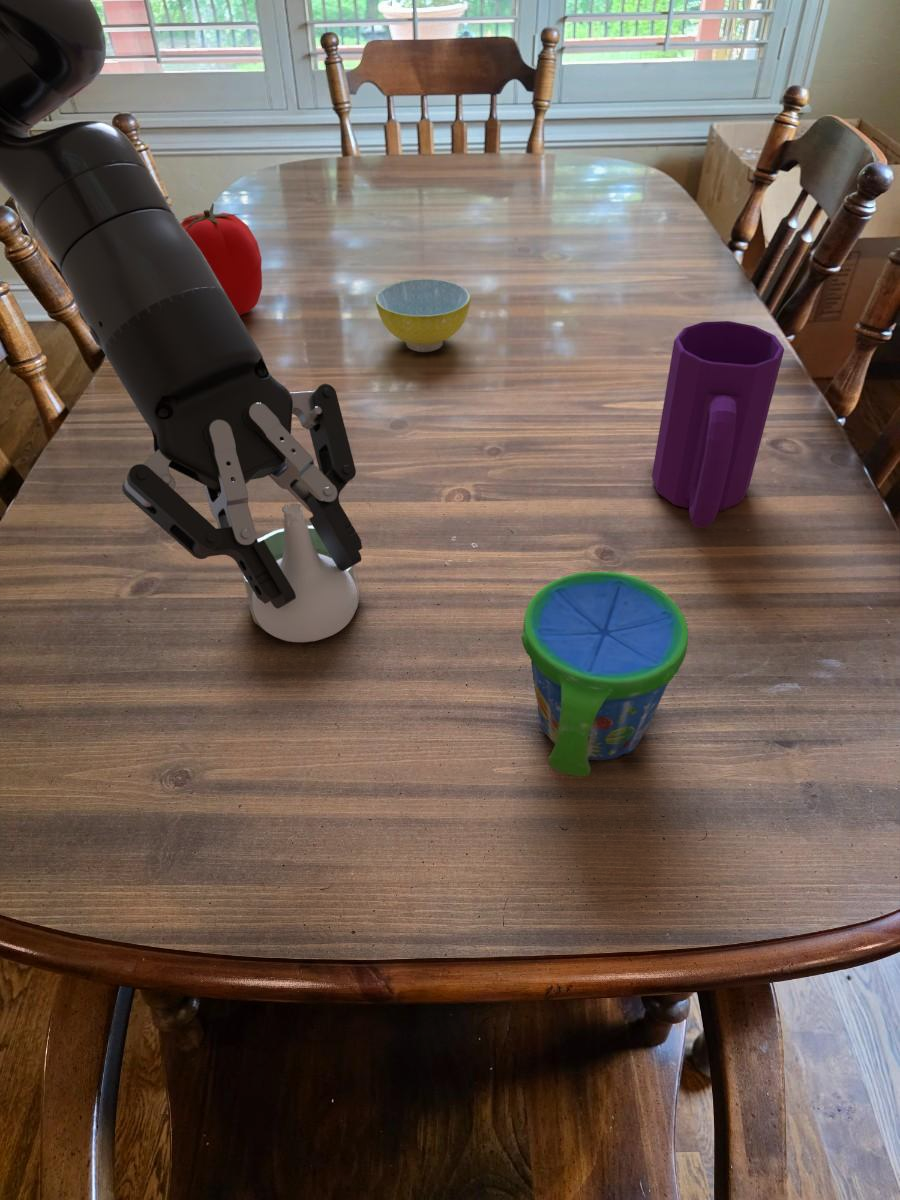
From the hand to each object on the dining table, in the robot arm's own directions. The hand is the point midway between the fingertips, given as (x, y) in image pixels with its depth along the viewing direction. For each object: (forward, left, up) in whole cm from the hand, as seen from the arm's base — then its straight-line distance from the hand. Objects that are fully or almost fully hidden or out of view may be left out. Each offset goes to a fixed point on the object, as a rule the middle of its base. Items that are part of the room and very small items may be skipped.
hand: (319, 582), depth 50 cm
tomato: (+35, +70, -16) cm, 80 cm away
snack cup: (+14, -10, -16) cm, 24 cm away
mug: (+42, 0, -16) cm, 45 cm away
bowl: (+47, +44, -16) cm, 67 cm away
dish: (+7, +15, -16) cm, 23 cm away
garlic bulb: (0, +2, -4) cm, 5 cm away
